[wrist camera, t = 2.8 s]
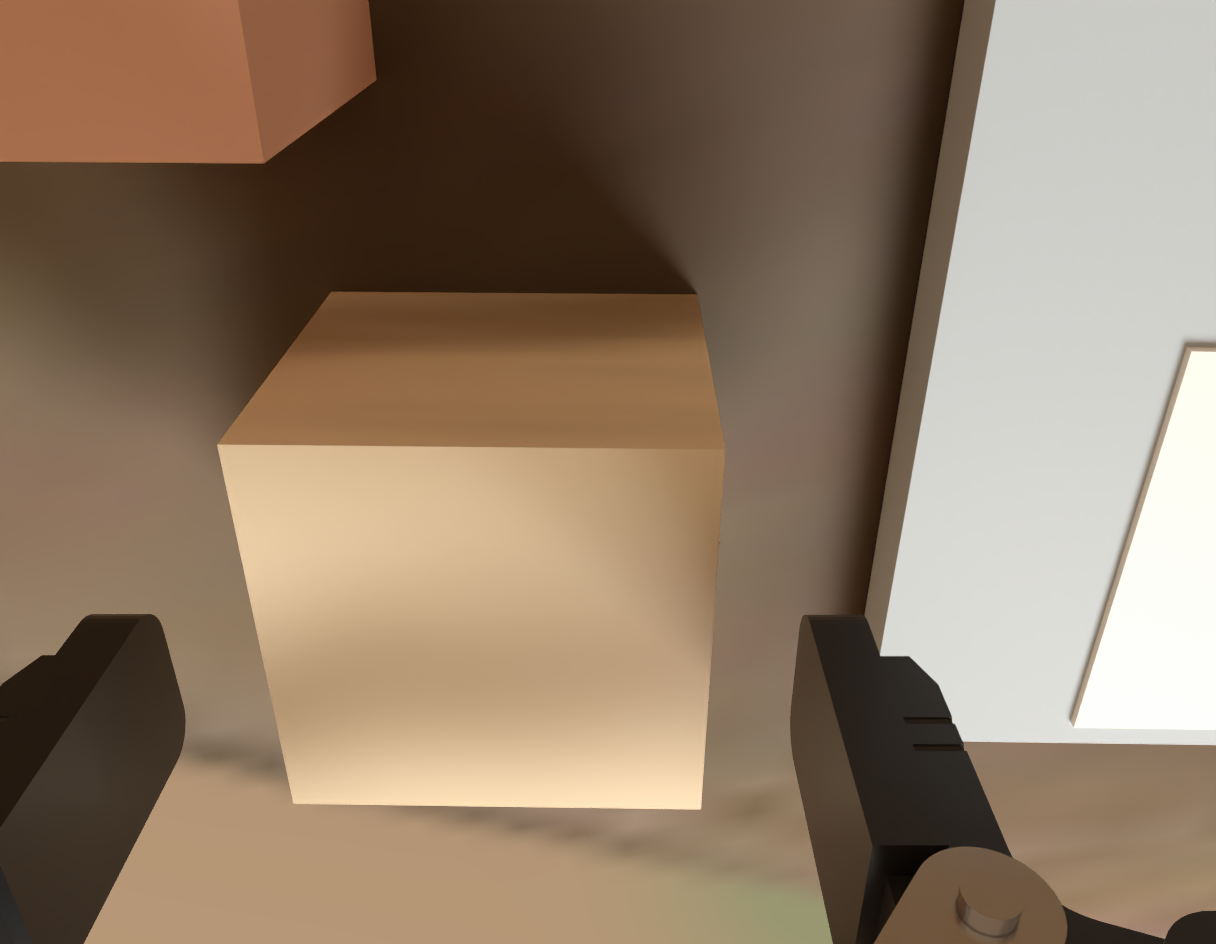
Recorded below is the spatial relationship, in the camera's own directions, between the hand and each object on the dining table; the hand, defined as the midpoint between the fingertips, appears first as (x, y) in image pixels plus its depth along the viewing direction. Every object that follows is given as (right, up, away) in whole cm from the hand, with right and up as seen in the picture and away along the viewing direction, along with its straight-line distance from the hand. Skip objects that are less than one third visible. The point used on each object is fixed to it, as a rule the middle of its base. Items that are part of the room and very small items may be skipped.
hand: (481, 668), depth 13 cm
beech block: (0, +3, +4) cm, 5 cm away
